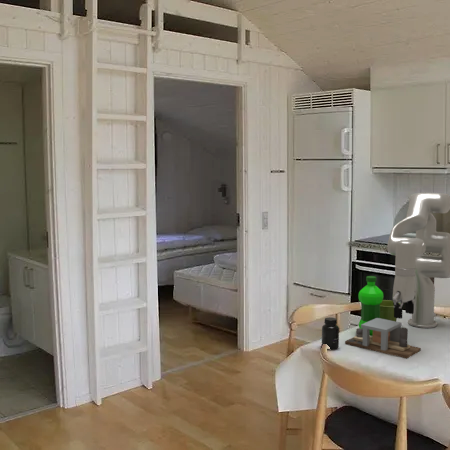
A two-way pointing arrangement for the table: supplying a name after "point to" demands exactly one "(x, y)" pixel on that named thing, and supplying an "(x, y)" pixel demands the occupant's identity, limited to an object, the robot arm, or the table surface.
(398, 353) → the track board
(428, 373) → the table surface
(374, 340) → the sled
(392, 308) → the plant pot
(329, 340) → the supplement bottle
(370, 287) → the plastic bottle
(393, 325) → the tunnel
